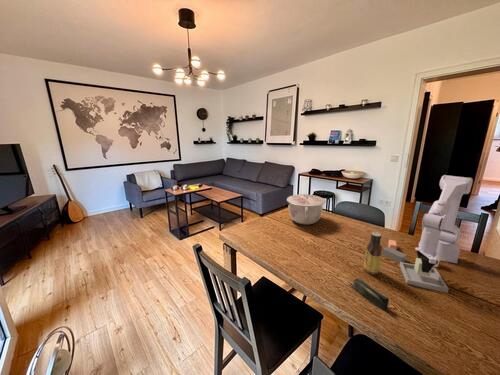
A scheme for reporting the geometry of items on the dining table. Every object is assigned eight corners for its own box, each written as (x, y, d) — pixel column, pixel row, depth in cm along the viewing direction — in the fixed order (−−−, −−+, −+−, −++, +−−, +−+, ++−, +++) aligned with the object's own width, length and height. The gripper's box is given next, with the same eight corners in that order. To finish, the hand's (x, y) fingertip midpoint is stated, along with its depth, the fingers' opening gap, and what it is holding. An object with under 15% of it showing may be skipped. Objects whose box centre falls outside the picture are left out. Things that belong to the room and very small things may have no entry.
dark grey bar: (390, 297, 77) (353, 273, 89) (385, 301, 75) (349, 276, 88) (388, 308, 78) (352, 283, 91) (383, 311, 77) (348, 286, 89)
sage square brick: (426, 270, 93) (428, 259, 92) (429, 276, 89) (432, 265, 88) (414, 268, 95) (416, 257, 93) (417, 274, 91) (419, 263, 90)
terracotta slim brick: (394, 246, 119) (395, 240, 118) (396, 251, 113) (397, 245, 112) (388, 245, 120) (388, 239, 119) (389, 250, 115) (390, 244, 114)
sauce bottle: (365, 265, 102) (370, 228, 97) (379, 270, 99) (385, 232, 93) (361, 272, 98) (367, 234, 92) (377, 277, 94) (383, 238, 89)
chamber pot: (301, 211, 174) (301, 187, 168) (331, 221, 153) (333, 194, 148) (278, 220, 157) (278, 194, 151) (308, 233, 136) (310, 203, 131)
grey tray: (434, 272, 96) (435, 268, 95) (447, 293, 84) (448, 288, 83) (399, 265, 101) (400, 261, 101) (406, 284, 89) (407, 279, 89)
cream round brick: (436, 262, 103) (438, 254, 102) (440, 268, 99) (442, 259, 98) (424, 260, 105) (426, 252, 104) (427, 266, 101) (429, 257, 99)
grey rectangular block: (386, 252, 113) (387, 246, 112) (405, 261, 105) (407, 255, 104) (381, 254, 111) (382, 248, 110) (400, 264, 103) (402, 257, 102)
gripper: (412, 231, 96) (407, 257, 99) (423, 247, 83) (417, 276, 87) (432, 234, 93) (426, 260, 97) (445, 251, 80) (438, 280, 84)
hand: (423, 268), depth 91 cm, fingers closed on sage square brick, 4 cm apart
